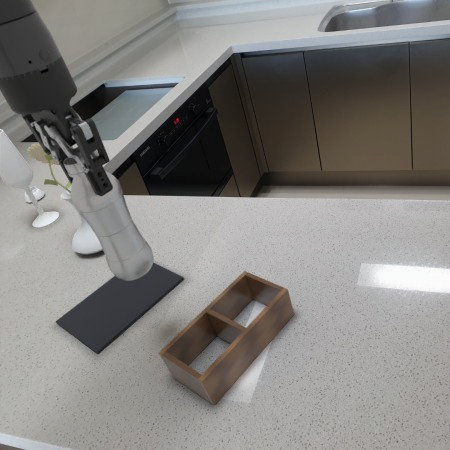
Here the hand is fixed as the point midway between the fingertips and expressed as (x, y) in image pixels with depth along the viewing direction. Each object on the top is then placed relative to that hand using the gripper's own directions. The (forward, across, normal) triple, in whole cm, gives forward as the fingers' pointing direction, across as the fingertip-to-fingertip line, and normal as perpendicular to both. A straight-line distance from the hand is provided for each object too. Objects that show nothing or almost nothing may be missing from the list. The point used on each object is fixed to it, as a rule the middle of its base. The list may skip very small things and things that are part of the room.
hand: (92, 186), depth 61 cm
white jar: (+30, -73, +11) cm, 80 cm away
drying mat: (+30, -14, 0) cm, 33 cm away
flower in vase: (+30, -36, +9) cm, 48 cm away
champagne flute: (+30, -60, +7) cm, 67 cm away
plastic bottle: (+16, 0, 0) cm, 16 cm away
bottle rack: (+30, +13, +4) cm, 33 cm away
